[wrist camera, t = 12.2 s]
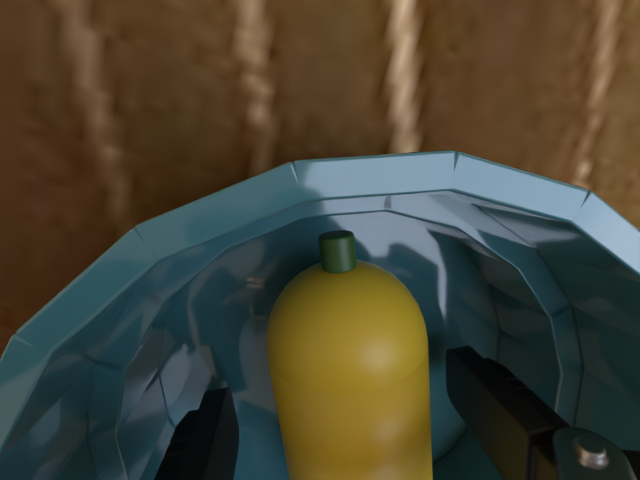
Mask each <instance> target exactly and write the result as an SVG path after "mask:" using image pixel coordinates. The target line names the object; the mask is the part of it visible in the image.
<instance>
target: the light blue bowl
mask: <svg viewBox="0 0 640 480" xmlns="http://www.w3.org/2000/svg"><path fill="white" fill-rule="evenodd" d="M335 230H347V231H351V232H353V233H354V237H355V248H356V259H359V260H363V261H366V262H369V263H372V264H375V265H378V266H380V267H381V268H383V269H385V270H386V271H388V272H390V273H391V274H393V275H394V276H395V277H396V278H397V279H399V280H400V281H401V282H402V283H403V284H404V285H405V286H406V287H407V289H408V290H409V291H410V293H411V294H412V296H413V297H414V299H415V300H416V302H417V303H418V305H419V308H420V311H421V313H422V316H423V318H424V322H425V325H426V331H427V338H428V357H429V386H430V415H431V445H432V474H433V480H505V479H504V478H503V477H502V475H501V474H500V472H499V471H498V469H497V468H496V467H495V465H494V464H493V462H492V461H491V459H490V458H489V457H488V455H487V454H486V452H485V451H484V449H483V448H482V447H481V445H480V444H479V442H478V441H477V440H476V438H475V437H474V435H473V434H472V432H471V431H470V430H469V428H468V427H467V425H466V424H465V422H464V421H463V420H462V418H461V417H460V415H459V414H458V412H457V411H456V410H455V408H454V407H453V405H452V403H451V401H450V399H449V396H448V393H447V389H446V350H447V349H450V348H456V347H461V346H467V345H469V346H471V347H472V348H473V349H474V350H475V351H476V352H477V353H478V354H479V355H481V356H482V357H483V358H490V359H492V360H494V361H496V362H498V363H500V364H502V365H504V366H505V367H506V368H507V369H509V370H510V371H511V372H512V373H513V374H514V375H515V376H516V377H517V379H518V380H521V381H522V382H523V383H524V384H525V385H526V386H527V387H528V389H531V390H532V391H533V392H534V393H535V394H536V395H537V396H538V397H539V398H540V399H542V400H543V401H544V402H545V403H546V404H547V405H548V406H549V407H550V408H551V409H553V410H554V411H555V412H556V413H557V414H558V415H559V416H560V417H561V418H563V419H564V420H565V421H566V422H567V423H568V424H569V425H570V426H571V427H578V428H583V429H586V430H590V431H592V432H595V433H597V434H599V435H601V436H603V437H604V438H606V439H608V440H609V441H611V442H612V443H613V444H615V445H616V446H617V447H618V448H619V449H622V450H630V451H640V230H639V229H638V228H637V227H635V226H634V225H633V224H632V223H630V222H629V221H628V220H627V219H626V218H624V217H623V216H622V215H621V214H619V213H618V212H617V211H616V210H615V209H613V208H612V207H611V206H610V205H608V204H607V203H606V202H605V201H604V200H602V199H601V198H600V197H599V196H598V195H596V194H595V193H594V192H592V191H589V190H587V189H585V188H583V187H580V186H576V185H573V184H570V183H566V182H563V181H559V180H556V179H553V178H549V177H546V176H542V175H539V174H536V173H532V172H529V171H525V170H522V169H519V168H515V167H512V166H508V165H505V164H502V163H498V162H495V161H491V160H488V159H485V158H481V157H478V156H474V155H471V154H468V153H464V152H461V151H454V150H442V151H426V152H411V153H395V154H380V155H364V156H349V157H334V158H318V159H303V160H295V161H293V162H287V163H285V164H282V165H280V166H277V167H275V168H272V169H270V170H268V171H265V172H263V173H260V174H258V175H255V176H253V177H251V178H248V179H246V180H243V181H241V182H238V183H236V184H233V185H231V186H229V187H226V188H224V189H221V190H219V191H216V192H214V193H212V194H209V195H207V196H204V197H202V198H199V199H197V200H195V201H192V202H190V203H187V204H185V205H182V206H180V207H178V208H175V209H173V210H170V211H168V212H165V213H163V214H161V215H158V216H156V217H153V218H151V219H148V220H146V221H143V222H141V223H139V224H137V225H136V226H135V227H133V228H131V229H129V230H128V231H127V232H126V233H125V234H124V235H123V236H122V237H120V238H119V239H118V240H117V241H116V242H115V243H114V244H113V245H111V246H110V247H109V248H108V249H107V250H106V251H105V252H104V253H102V254H101V255H100V256H99V257H98V258H97V259H96V260H95V261H93V262H92V263H91V264H90V265H89V266H88V267H87V268H86V269H84V270H83V271H82V272H81V273H80V274H79V275H78V276H77V277H75V278H74V279H73V280H72V281H71V282H70V283H69V284H68V285H66V286H65V287H64V288H63V289H62V290H61V291H60V292H59V293H57V294H56V295H55V296H54V297H53V298H52V299H51V300H50V301H48V302H47V303H46V304H45V305H44V306H43V307H42V308H41V309H39V310H38V311H37V312H36V313H35V314H34V315H33V316H32V317H31V318H29V319H28V320H27V321H26V322H25V323H24V324H23V325H22V326H20V327H19V328H18V329H17V331H16V333H15V334H13V335H12V336H11V338H10V340H9V342H8V344H7V346H6V348H5V350H4V352H3V354H2V356H1V358H0V480H154V478H155V476H156V474H157V471H158V469H159V467H160V464H161V462H162V459H163V458H164V455H165V452H166V450H167V447H168V445H169V444H170V440H171V438H172V435H173V433H174V431H175V428H176V426H177V424H178V423H179V422H180V421H181V420H182V419H183V417H184V416H185V415H186V414H187V413H188V411H192V410H197V409H199V406H200V403H201V401H202V398H203V395H204V393H205V391H207V390H213V389H219V388H225V387H229V388H230V389H231V392H232V397H233V401H234V406H235V410H236V415H237V419H238V424H239V449H238V455H237V461H236V467H235V473H234V479H233V480H289V474H288V469H287V463H286V458H285V452H284V447H283V441H282V436H281V430H280V425H279V419H278V414H277V408H276V403H275V397H274V392H273V386H272V381H271V375H270V370H269V364H268V359H267V345H266V332H267V326H268V320H269V317H270V314H271V311H272V308H273V306H274V303H275V301H276V300H277V298H278V297H279V295H280V294H281V292H282V291H283V289H284V288H285V286H286V285H287V284H288V283H289V282H290V281H291V280H292V279H293V278H294V277H295V276H297V275H298V274H299V273H300V272H302V271H304V270H305V269H307V268H309V267H311V266H313V265H315V264H317V263H320V262H321V258H320V250H319V242H318V237H319V235H321V234H323V233H325V232H329V231H335Z"/></svg>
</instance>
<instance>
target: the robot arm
mask: <svg viewBox="0 0 640 480" xmlns="http://www.w3.org/2000/svg"><path fill="white" fill-rule="evenodd" d="M446 389H447V393H448V396H449V399H450V401H451V403H452V405H453V407H454V408H455V410H456V411H457V412H458V414H459V415H460V417H461V418H462V420H463V421H464V422H465V424H466V425H467V427H468V428H469V430H470V431H471V432H472V434H473V435H474V437H475V438H476V440H477V441H478V442H479V444H480V445H481V447H482V448H483V449H484V451H485V452H486V454H487V455H488V457H489V458H490V459H491V461H492V462H493V464H494V465H495V467H496V468H497V469H498V471H499V472H500V474H501V475H502V477H503V478H504V479H505V480H640V451H630V450H622V449H619V448H618V447H617V446H616V445H615V444H613V443H612V442H611V441H609V440H608V439H606V438H604V437H603V436H601V435H599V434H597V433H595V432H592V431H590V430H586V429H583V428H578V427H571V426H570V425H569V424H568V423H567V422H566V421H565V420H564V419H563V418H561V417H560V416H559V415H558V414H557V413H556V412H555V411H554V410H553V409H551V408H550V407H549V406H548V405H547V404H546V403H545V402H544V401H543V400H542V399H540V398H539V397H538V396H537V395H536V394H535V393H534V392H533V391H532V390H531V389H528V387H527V386H526V385H525V384H524V383H523V382H522V381H521V380H518V379H517V377H516V376H515V375H514V374H513V373H512V372H511V371H510V370H509V369H507V368H506V367H505V366H504V365H502V364H500V363H498V362H496V361H494V360H492V359H490V358H483V357H482V356H481V355H479V354H478V353H477V352H476V351H475V350H474V349H473V348H472V347H471V346H469V345H467V346H461V347H456V348H450V349H447V350H446ZM238 449H239V424H238V419H237V415H236V410H235V406H234V401H233V397H232V392H231V389H230V388H229V387H225V388H219V389H213V390H207V391H205V393H204V395H203V398H202V401H201V403H200V406H199V409H197V410H192V411H188V413H187V414H186V415H185V416H184V417H183V419H182V420H181V421H180V422H179V423H178V424H177V426H176V428H175V431H174V433H173V435H172V438H171V440H170V444H169V445H168V447H167V450H166V452H165V455H164V458H163V459H162V462H161V464H160V467H159V469H158V471H157V474H156V476H155V478H154V480H233V479H234V473H235V467H236V461H237V455H238Z"/></svg>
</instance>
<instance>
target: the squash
mask: <svg viewBox="0 0 640 480" xmlns="http://www.w3.org/2000/svg"><path fill="white" fill-rule="evenodd" d="M318 242H319V250H320V258H321V262H320V263H317V264H315V265H313V266H311V267H309V268H307V269H305V270H304V271H302V272H300V273H299V274H298V275H297V276H295V277H294V278H293V279H292V280H291V281H290V282H289V283H288V284H287V285H286V286H285V288H284V289H283V291H282V292H281V294H280V295H279V297H278V298H277V300H276V301H275V303H274V306H273V308H272V311H271V314H270V317H269V320H268V326H267V332H266V345H267V359H268V364H269V370H270V375H271V381H272V386H273V392H274V397H275V403H276V408H277V414H278V419H279V425H280V430H281V436H282V441H283V447H284V452H285V458H286V463H287V469H288V474H289V480H433V474H432V445H431V415H430V386H429V357H428V338H427V331H426V325H425V322H424V318H423V316H422V313H421V311H420V308H419V305H418V303H417V302H416V300H415V299H414V297H413V296H412V294H411V293H410V291H409V290H408V289H407V287H406V286H405V285H404V284H403V283H402V282H401V281H400V280H399V279H397V278H396V277H395V276H394V275H393V274H391V273H390V272H388V271H386V270H385V269H383V268H381V267H380V266H378V265H375V264H372V263H369V262H366V261H363V260H359V259H356V248H355V237H354V233H353V232H351V231H347V230H335V231H329V232H325V233H323V234H321V235H319V237H318Z"/></svg>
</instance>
